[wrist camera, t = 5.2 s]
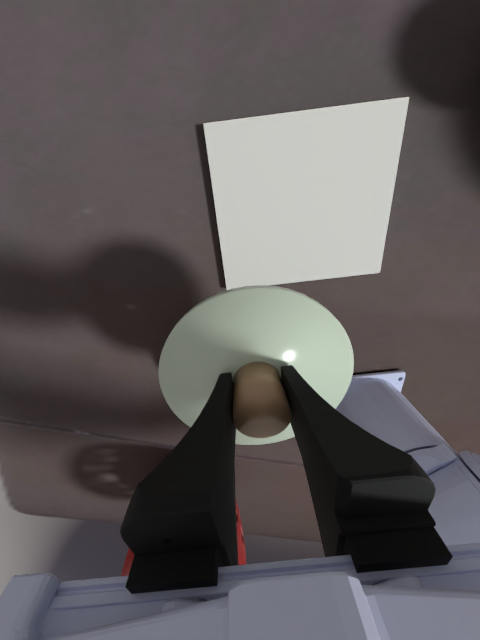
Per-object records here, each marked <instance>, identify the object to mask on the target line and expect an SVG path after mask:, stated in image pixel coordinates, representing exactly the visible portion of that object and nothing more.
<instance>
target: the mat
mask: <svg viewBox="0 0 480 640" xmlns="http://www.w3.org/2000/svg"><path fill="white" fill-rule="evenodd" d="M408 102H409V97H403V98H396V99H388V100H380V101H372V102H365V103H357V104H349V105H342V106H334V107H326V108H319V109H311V110H303V111H295V112H288V113H280V114H272V115H265V116H257V117H249V118H241V119H234V120H226V121H218V122H211V123H203V125H204V132H205V140H206V147H207V154H208V161H209V168H210V175H211V182H212V189H213V196H214V203H215V211H216V218H217V225H218V232H219V239H220V246H221V253H222V260H223V267H224V275H225V282H226V289H227V290H230V289H233V288H238V287H244V286H255V285H276V284H284V283H293V282H302V281H311V280H320V279H329V278H337V277H346V276H355V275H364V274H373V273H380V269H381V263H382V257H383V251H384V245H385V239H386V233H387V227H388V221H389V215H390V209H391V203H392V197H393V191H394V185H395V179H396V174H397V168H398V162H399V156H400V150H401V144H402V138H403V132H404V126H405V120H406V114H407V108H408Z"/></svg>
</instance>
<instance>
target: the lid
mask: <svg viewBox="0 0 480 640" xmlns="http://www.w3.org/2000/svg"><path fill="white" fill-rule="evenodd" d="M289 365H292V366H293V367H294V368H295V369H296V370H297V372H298V373H299V374H300V375H301V376H302V377H303V379H304V380H305V381H306V382H307V383H308V384H309V385H310V386H311V387H312V388H313V389H314V390H315V391H316V392H317V393H318V394H319V395H320V396H321V397H322V398H323V399H324V400H325V401H327V402H328V403H329V404H330V405H331V406H332V407H334V408H335V409H336V407H337V406H338V405H339V403H340V402H341V401H342V399H343V398H344V396H345V394H346V392H347V390H348V388H349V385H350V383H351V379H352V375H353V368H354V357H353V350H352V346H351V342H350V340H349V337H348V335H347V333H346V331H345V330H344V328H343V327H342V325H341V324H340V322H339V321H338V320H337V319H336V318H335V317H334V316H333V315H332V314H331V313H330V312H329V311H328V310H327V309H326V308H325V307H324V306H322V305H321V304H320V303H318V302H317V301H316V300H314V299H312V298H310V297H308V296H306V295H305V294H302V293H299V292H297V291H294V290H291V289H287V288H282V287H278V286H267V285H255V286H244V287H238V288H233V289H230V290H226V291H223V292H220V293H217V294H215V295H213V296H211V297H209V298H206V299H205V300H203V301H202V302H200V303H199V304H197V305H195V306H194V307H193V308H192V309H190V310H189V311H188V312H187V313H186V314H185V315H184V316H183V317H182V318H181V319H180V320H179V321H178V322H177V323H176V325H175V327H174V328H173V330H172V331H171V333H170V334H169V336H168V338H167V340H166V343H165V345H164V347H163V349H162V353H161V356H160V360H159V370H158V372H159V382H160V386H161V390H162V393H163V395H164V398H165V400H166V402H167V403H168V405H169V407H170V408H171V410H172V411H173V412H174V413H175V414H176V416H177V417H178V418H179V419H181V420H182V421H183V422H184V423H185V424H186V425H188V426H189V427H190V428H191V427H192V425H193V424H194V422H195V421H196V419H197V418H198V416H199V415H200V413H201V411H202V409H203V408H204V406H205V404H206V403H207V401H208V399H209V397H210V395H211V393H212V391H213V389H214V387H215V384H216V382H217V379H218V377H219V375H220V374H221V373H229V372H231V374H232V380H233V423H234V426H235V427H236V439H235V444H241V445H259V444H268V443H274V442H279V441H283V440H286V439H289V438H292V437H295V435H294V432H293V429H292V426H291V423H290V421H291V417H292V414H291V410H290V407H289V403H288V400H287V396H286V393H285V390H284V386H283V383H282V377H281V366H289Z"/></svg>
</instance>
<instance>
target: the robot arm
mask: <svg viewBox="0 0 480 640" xmlns="http://www.w3.org/2000/svg"><path fill="white" fill-rule="evenodd" d="M405 375H406V374H405V372H404V371H402V370H398V371H388V372H379V373H369V374H360V375H352V379H351V383H350V385H349V388H348V390H347V392H346V394H345V396H344V398H343V399H342V401H341V402H340V403H339V405H338V406H337V407H336V409H335V408H334V407H332V406H331V405H330V404H329V403H328V402H327V401H325V400H324V399H323V398H322V397H321V396H320V395H319V394H318V393H317V392H316V391H315V390H314V389H313V388H312V387H311V386H310V385H309V384H308V383H307V382H306V381H305V380H304V379H303V377H302V376H301V375H300V374H299V373H298V372H297V370H296V369H295V368H294V367H293V366H292V365H289V366H281V377H282V383H283V386H284V390H285V393H286V396H287V400H288V403H289V407H290V410H291V414H292V417H291V421H290V423H291V426H292V429H293V432H294V435H295V438H296V441H297V444H298V446H299V449H300V453H301V456H302V460H303V464H304V468H305V472H306V476H307V480H308V484H309V488H310V492H311V496H312V500H313V505H314V509H315V513H316V518H317V522H318V526H319V531H320V535H321V540H322V544H323V549H324V553H325V557H321V558H310V559H300V560H289V561H278V562H269V563H257V564H246V565H239V563H238V544H237V523H236V499H235V469H234V458H235V439H236V427H235V426H234V423H233V380H232V374H231V372H229V373H221V374H220V375H219V377H218V379H217V382H216V384H215V387H214V389H213V391H212V393H211V395H210V397H209V399H208V401H207V403H206V404H205V406H204V408H203V409H202V411H201V413H200V415H199V416H198V418H197V419H196V421H195V422H194V424H193V425H192V427H191V428H190V429H189V431H188V432H187V433H186V435H185V436H184V437H183V438H182V440H181V441H180V442H179V443H178V445H177V446H176V447H175V448H174V449H173V450H172V451H171V453H170V454H169V455H168V456H167V457H166V458H165V459H164V460H163V461H162V462H161V463H160V464H159V465H158V466H157V467H156V468H155V469H154V470H153V471H152V472H151V473H150V474H149V475H148V476H147V477H146V478H145V479H144V480H143V481H141V482H140V483H139V484H138V485H137V488H136V490H135V492H134V494H133V496H132V499H131V501H130V503H129V506H128V509H127V512H126V514H125V517H124V520H123V523H122V526H121V530H120V533H121V535H122V538H123V540H124V542H125V543H126V544H127V545H128V547H129V548H130V549H131V551H132V552H133V553H134V558H133V562H132V565H131V569H130V572H129V576H119V577H109V578H98V579H88V580H77V581H66V582H60V581H59V579H58V578H57V577H55V576H54V575H52V574H49V573H36V574H25V575H15V576H14V577H12V578H11V580H10V581H9V583H8V584H7V586H6V588H5V589H4V591H3V592H2V594H1V596H0V640H480V454H477V453H473V452H469V451H468V450H463V451H462V452H460V453H457V452H456V451H455V450H454V449H452V447H451V446H450V445H449V444H448V443H447V442H446V441H445V440H444V439H443V438H442V437H441V436H440V435H439V433H438V432H437V431H436V430H435V429H434V428H433V427H432V426H431V425H430V424H429V423H428V422H427V421H426V420H425V418H424V417H423V416H422V415H421V414H420V413H419V412H418V411H417V410H416V409H415V408H414V407H413V406H412V404H411V403H410V402H409V401H408V400H407V399H406V398H405V397H404V396H403V395H402V394H401V390H402V386H403V382H404V379H405Z"/></svg>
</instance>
